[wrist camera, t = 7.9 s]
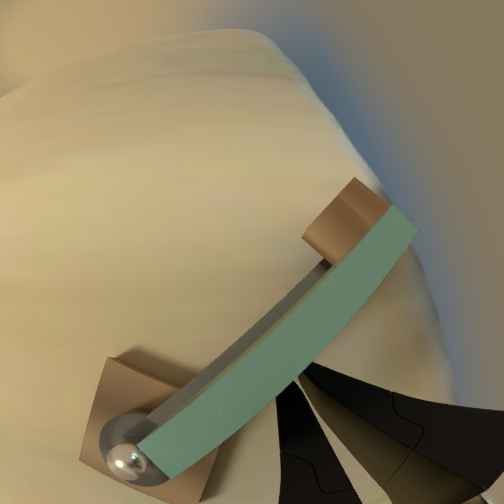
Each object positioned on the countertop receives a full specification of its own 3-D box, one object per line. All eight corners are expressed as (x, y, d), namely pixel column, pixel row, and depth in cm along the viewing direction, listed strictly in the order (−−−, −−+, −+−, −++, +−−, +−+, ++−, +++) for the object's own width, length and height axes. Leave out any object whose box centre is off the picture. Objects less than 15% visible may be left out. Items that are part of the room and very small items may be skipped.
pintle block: (196, 503, 12) (195, 511, 11) (86, 455, 13) (79, 460, 12) (233, 405, 15) (233, 408, 14) (114, 357, 16) (107, 357, 15)
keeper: (327, 297, 18) (360, 275, 13) (287, 262, 19) (307, 228, 14) (364, 249, 20) (400, 216, 15) (328, 217, 21) (354, 176, 16)
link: (148, 485, 12) (87, 569, 3) (99, 432, 12) (-2, 474, 4) (368, 288, 17) (468, 222, 8) (321, 240, 18) (389, 141, 9)
